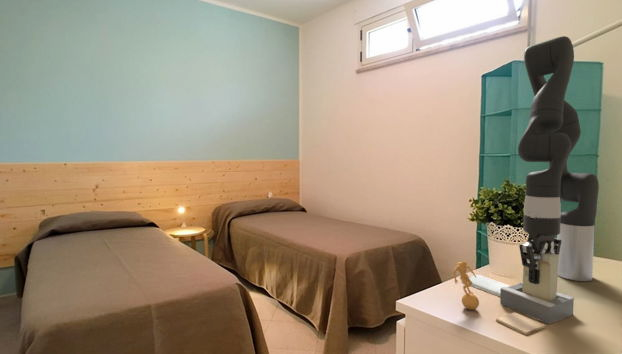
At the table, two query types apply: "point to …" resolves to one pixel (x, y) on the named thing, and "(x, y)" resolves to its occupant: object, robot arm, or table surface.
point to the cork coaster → (520, 323)
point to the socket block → (537, 304)
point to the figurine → (469, 298)
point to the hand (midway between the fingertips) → (539, 281)
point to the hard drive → (487, 284)
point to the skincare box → (543, 279)
